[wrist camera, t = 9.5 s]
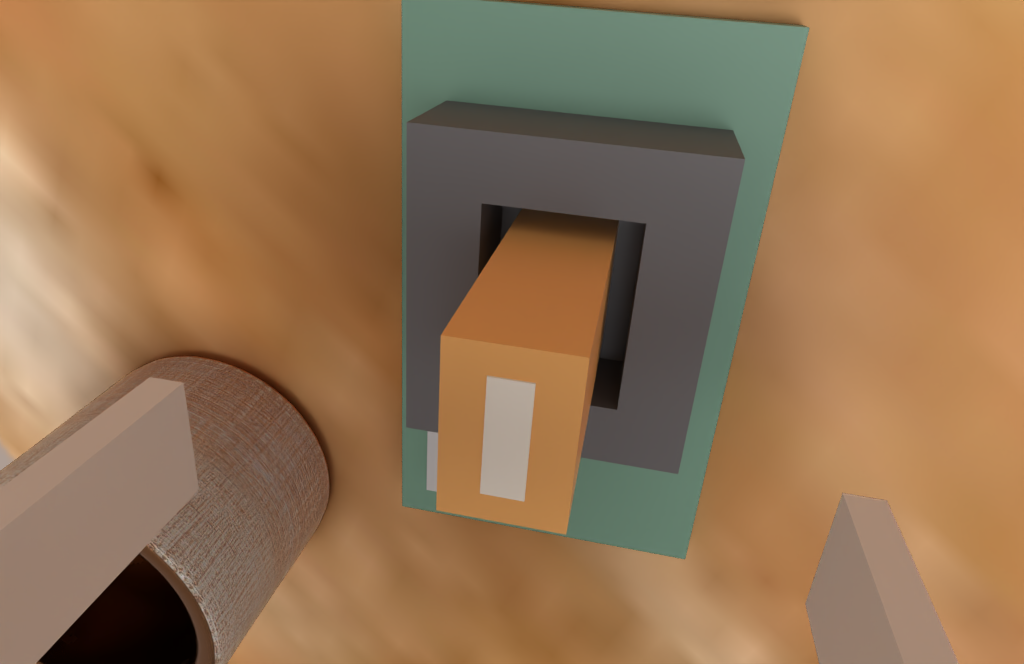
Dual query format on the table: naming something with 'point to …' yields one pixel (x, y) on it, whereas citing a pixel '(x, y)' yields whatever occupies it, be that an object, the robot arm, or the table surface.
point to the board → (626, 87)
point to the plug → (524, 372)
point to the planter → (204, 523)
